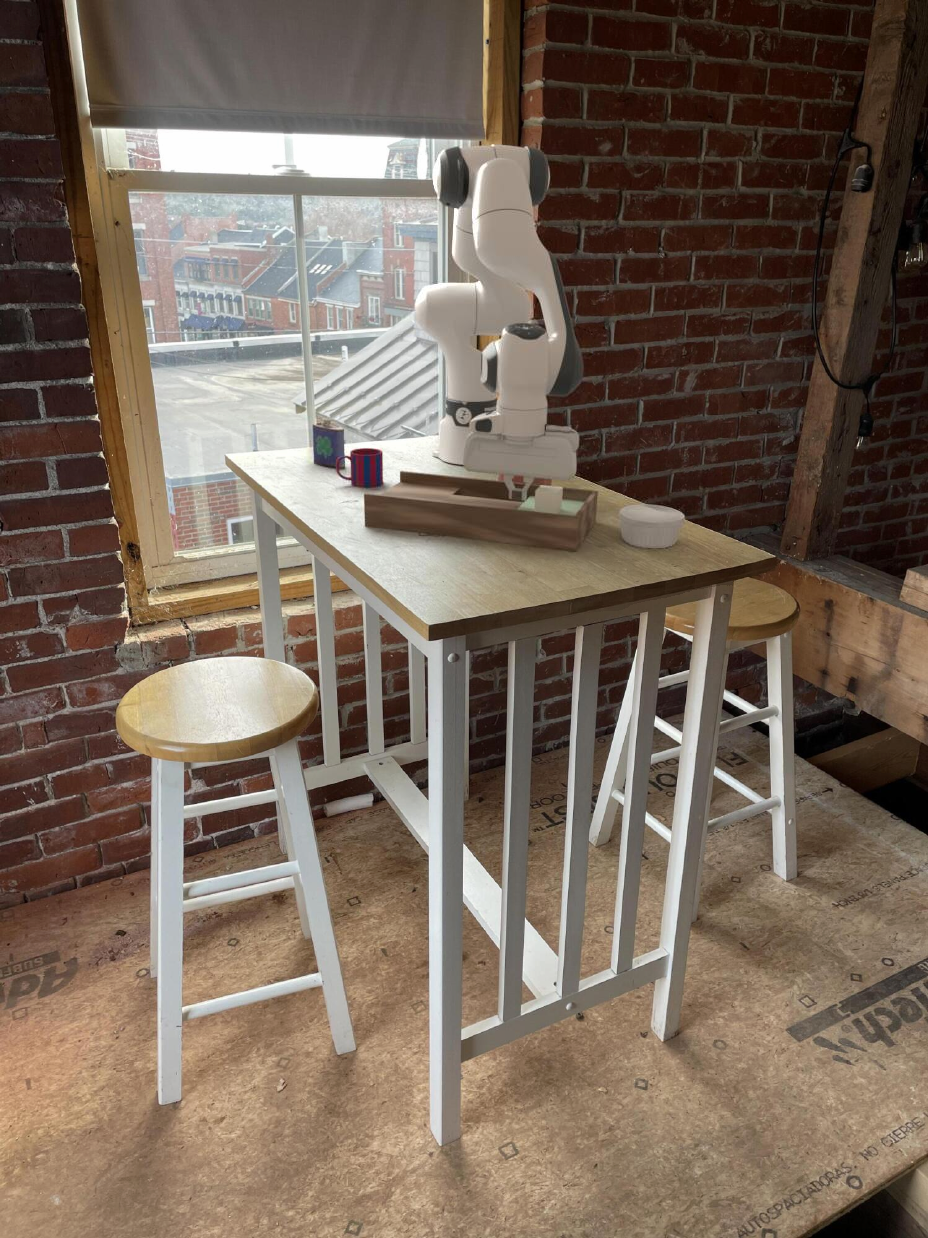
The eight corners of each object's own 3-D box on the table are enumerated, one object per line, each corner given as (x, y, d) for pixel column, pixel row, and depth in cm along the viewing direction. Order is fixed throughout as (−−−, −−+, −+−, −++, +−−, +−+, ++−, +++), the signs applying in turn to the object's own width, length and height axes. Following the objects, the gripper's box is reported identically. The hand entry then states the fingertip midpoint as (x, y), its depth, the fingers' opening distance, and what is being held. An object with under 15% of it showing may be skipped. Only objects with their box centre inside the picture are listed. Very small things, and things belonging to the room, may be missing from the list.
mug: (386, 486, 190) (385, 454, 187) (338, 489, 187) (337, 456, 185) (379, 478, 196) (378, 447, 193) (333, 481, 193) (332, 449, 190)
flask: (347, 467, 204) (346, 419, 200) (338, 470, 202) (336, 421, 198) (319, 461, 209) (316, 414, 205) (309, 463, 207) (307, 416, 203)
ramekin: (687, 537, 163) (690, 508, 161) (674, 555, 153) (677, 525, 151) (626, 528, 167) (628, 500, 165) (609, 545, 157) (612, 516, 155)
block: (539, 506, 164) (541, 484, 163) (561, 508, 163) (562, 487, 161) (534, 512, 161) (535, 490, 159) (556, 515, 160) (557, 492, 158)
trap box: (401, 500, 181) (401, 470, 178) (595, 521, 170) (597, 490, 167) (364, 525, 165) (363, 493, 162) (575, 551, 154) (578, 517, 152)
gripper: (583, 423, 158) (577, 500, 164) (471, 414, 164) (469, 489, 169) (576, 430, 153) (571, 509, 158) (460, 421, 158) (459, 497, 164)
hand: (517, 499), depth 164 cm, fingers closed
